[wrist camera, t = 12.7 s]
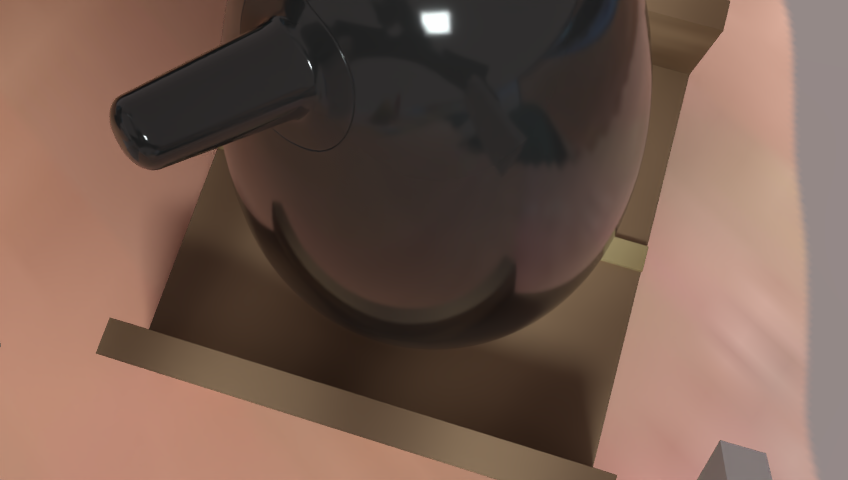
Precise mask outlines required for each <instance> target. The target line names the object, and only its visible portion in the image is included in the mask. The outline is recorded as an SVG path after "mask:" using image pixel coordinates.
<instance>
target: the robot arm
mask: <svg viewBox="0 0 848 480" xmlns="http://www.w3.org/2000/svg"><path fill="white" fill-rule="evenodd" d="M0 346H1V345H0ZM697 480H772V476H771V472H770V468H769V464H768V460H767V456H766V453H763V452H759V451H756V450H752V449H749V448H746V447H742V446H739V445H735V444H732V443H728V442H725V441H721V440H720V441H719V443H718V445H717V446H716V448H715V450H714V452H713V453H712V455H711V457H710V458H709V460H708V462H707V464H706V465H705V467H704V469H703V470H702V472H701V474H700V476H699V477H698V479H697Z"/></svg>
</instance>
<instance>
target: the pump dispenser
mask: <svg viewBox="0 0 848 480" xmlns="http://www.w3.org/2000/svg"><path fill="white" fill-rule="evenodd" d="M652 83H653V62H652V42H651V31H650V22H649V14H648V8H647V2H646V0H227V3H226V9H225V15H224V21H223V29H222V36H221V45H219V46H217V47H215V48H213V49H211V50H209V51H207V52H205V53H203V54H201V55H199V56H197V57H195V58H193V59H191V60H189V61H187V62H185V63H183V64H181V65H179V66H177V67H175V68H173V69H171V70H169V71H167V72H165V73H163V74H162V75H160V76H158V77H156V78H154V79H152V80H150V81H148V82H146V83H144V84H142V85H140V86H138V87H136V88H134V89H132V90H130V91H128V92H126V93H124V94H122V95H120V96H118V97H117V98H116V99H115V100H114V101H113V103H112V105H111V108H110V114H109V117H110V125H111V129H112V131H113V134H114V136H115V138H116V140H117V142H118V144H119V146H120V147H121V149H122V150H123V152H124V153H125V154H126V156H127V157H128V158H129V159H130V160H131V161H132V162H134V163H135V164H136V165H138V166H140V167H142V168H144V169H147V170H159V169H162V168H165V167H167V166H170V165H173V164H175V163H178V162H181V161H183V160H186V159H189V158H191V157H194V156H197V155H199V154H202V153H205V152H207V151H210V150H213V149H215V148H218V147H221V146H223V147H224V152H225V157H226V162H227V166H228V170H229V174H230V177H231V180H232V184H233V187H234V190H235V193H236V196H237V199H238V202H239V204H240V207H241V210H242V212H243V215H244V217H245V219H246V222H247V224H248V226H249V228H250V230H251V233H252V235H253V237H254V239H255V240H256V242H257V244H258V246H259V247H260V249H261V251H262V252H263V254H264V255H265V257H266V258H267V260H268V261H269V263H270V264H271V266H272V267H273V268H274V269H275V271H276V272H277V273H278V275H279V276H280V277H281V278H282V279H283V280H284V282H285V283H286V284H287V285H288V286H289V287H290V288H291V289H292V290H293V291H294V292H295V293H296V294H297V295H298V296H299V297H300V298H301V299H303V300H304V301H305V302H306V303H307V304H308V305H310V306H311V307H312V308H313V309H315V310H316V311H317V312H319V313H320V314H322V315H323V316H325V317H326V318H328V319H329V320H331V321H333V322H334V323H336V324H338V325H340V326H341V327H343V328H345V329H347V330H349V331H351V332H354V333H356V334H358V335H361V336H363V337H366V338H369V339H372V340H375V341H378V342H381V343H385V344H389V345H394V346H399V347H405V348H413V349H425V350H444V349H457V348H464V347H470V346H475V345H479V344H484V343H487V342H491V341H494V340H497V339H500V338H503V337H506V336H508V335H510V334H513V333H515V332H517V331H519V330H522V329H524V328H525V327H527V326H529V325H531V324H533V323H534V322H536V321H538V320H539V319H541V318H542V317H544V316H545V315H547V314H548V313H550V312H551V311H552V310H554V309H555V308H556V307H558V306H559V305H560V304H561V303H562V302H564V301H565V300H566V299H567V298H568V297H569V296H570V295H571V294H572V293H573V292H574V291H575V290H576V289H577V288H578V287H579V286H580V285H581V284H582V283H583V282H584V281H585V280H586V279H587V277H588V276H589V275H590V274H591V272H592V271H593V270H594V269H595V267H596V266H597V264H598V263H599V262H600V260H601V259H602V257H603V256H604V254H605V253H606V251H607V249H608V248H609V246H610V244H611V242H612V241H613V239H614V237H615V235H616V233H617V231H618V229H619V226H620V224H621V222H622V220H623V217H624V215H625V212H626V210H627V207H628V204H629V202H630V199H631V197H632V194H633V191H634V188H635V185H636V182H637V178H638V175H639V171H640V168H641V164H642V160H643V156H644V151H645V147H646V142H647V136H648V129H649V122H650V114H651V103H652Z"/></svg>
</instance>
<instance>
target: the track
mask: <svg viewBox="0 0 848 480" xmlns="http://www.w3.org/2000/svg"><path fill="white" fill-rule="evenodd" d="M646 2H647V8H648V14H649V22H650V31H651V42H652V62H653V83H652V103H651V114H650V122H649V129H648V136H647V142H646V147H645V151H644V156H643V160H642V164H641V168H640V171H639V175H638V178H637V182H636V185H635V188H634V191H633V194H632V197H631V199H630V202H629V204H628V207H627V210H626V212H625V215H624V217H623V220H622V222H621V224H620V226H619V229H618V231H617V233H616V235H615V237H614V239H613V241H612V242H611V244H610V246H609V248H608V249H607V251H606V253H605V254H604V256H603V257H602V259H601V260H600V262H599V263H598V264H597V266H596V267H595V269H594V270H593V271H592V272H591V274H590V275H589V276H588V277H587V279H586V280H585V281H584V282H583V283H582V284H581V285H580V286H579V287H578V288H577V289H576V290H575V291H574V292H573V293H572V294H571V295H570V296H569V297H568V298H567V299H566V300H565V301H564V302H562V303H561V304H560V305H559V306H558V307H556V308H555V309H554V310H552V311H551V312H550V313H548V314H547V315H545V316H544V317H542V318H541V319H539V320H538V321H536V322H534V323H533V324H531V325H529V326H527V327H525V328H524V329H522V330H519V331H517V332H515V333H513V334H510V335H508V336H506V337H503V338H500V339H497V340H494V341H491V342H487V343H484V344H479V345H475V346H470V347H464V348H457V349H444V350H425V349H413V348H405V347H399V346H394V345H389V344H385V343H381V342H378V341H375V340H372V339H369V338H366V337H363V336H361V335H358V334H356V333H354V332H351V331H349V330H347V329H345V328H343V327H341V326H340V325H338V324H336V323H334V322H333V321H331V320H329V319H328V318H326V317H325V316H323V315H322V314H320V313H319V312H317V311H316V310H315V309H313V308H312V307H311V306H310V305H308V304H307V303H306V302H305V301H304V300H303V299H301V298H300V297H299V296H298V295H297V294H296V293H295V292H294V291H293V290H292V289H291V288H290V287H289V286H288V285H287V284H286V283H285V282H284V280H283V279H282V278H281V277H280V276H279V275H278V273H277V272H276V271H275V269H274V268H273V267H272V266H271V264H270V263H269V261H268V260H267V258H266V257H265V255H264V254H263V252H262V251H261V249H260V247H259V246H258V244H257V242H256V240H255V239H254V237H253V235H252V233H251V230H250V228H249V226H248V224H247V222H246V219H245V217H244V215H243V212H242V210H241V207H240V204H239V202H238V199H237V196H236V193H235V190H234V187H233V184H232V180H231V177H230V174H229V170H228V166H227V162H226V157H225V152H224V147H223V146H221V147H218V149H217V152H216V155H215V157H214V160H213V162H212V165H211V168H210V170H209V173H208V176H207V178H206V181H205V183H204V186H203V189H202V191H201V194H200V197H199V199H198V202H197V204H196V207H195V210H194V212H193V215H192V218H191V220H190V223H189V226H188V228H187V231H186V233H185V236H184V239H183V241H182V244H181V247H180V249H179V252H178V254H177V257H176V260H175V262H174V265H173V268H172V270H171V273H170V275H169V278H168V281H167V283H166V286H165V289H164V291H163V294H162V296H161V299H160V302H159V304H158V307H157V310H156V312H155V315H154V318H153V320H152V323H151V325H150V328H149V329H146V328H143V327H139V326H136V325H133V324H130V323H126V322H123V321H120V320H117V319H113V318H109V321H108V324H107V326H106V329H105V331H104V334H103V336H102V339H101V341H100V344H99V346H98V349H97V352H96V354H99V355H103V356H106V357H109V358H112V359H115V360H119V361H122V362H125V363H128V364H131V365H134V366H138V367H141V368H144V369H147V370H150V371H154V372H157V373H160V374H163V375H166V376H169V377H173V378H176V379H179V380H182V381H185V382H188V383H192V384H195V385H198V386H201V387H204V388H208V389H211V390H214V391H217V392H220V393H223V394H227V395H230V396H233V397H236V398H239V399H243V400H246V401H249V402H252V403H255V404H258V405H262V406H265V407H268V408H271V409H274V410H277V411H281V412H284V413H287V414H290V415H293V416H297V417H300V418H303V419H306V420H309V421H312V422H316V423H319V424H322V425H325V426H328V427H332V428H335V429H338V430H341V431H344V432H347V433H351V434H354V435H357V436H360V437H363V438H366V439H370V440H373V441H376V442H379V443H382V444H386V445H389V446H392V447H395V448H398V449H401V450H405V451H408V452H411V453H414V454H417V455H421V456H424V457H427V458H430V459H433V460H436V461H440V462H443V463H446V464H449V465H452V466H455V467H459V468H462V469H465V470H468V471H471V472H475V473H478V474H481V475H484V476H487V477H490V478H494V479H497V480H616V478H617V475H615V474H612V473H609V472H606V471H603V470H599V469H596V468H593V464H594V460H595V456H596V452H597V448H598V444H599V440H600V436H601V432H602V428H603V424H604V420H605V416H606V412H607V407H608V403H609V399H610V395H611V391H612V387H613V383H614V379H615V375H616V371H617V367H618V363H619V359H620V355H621V350H622V346H623V342H624V338H625V334H626V330H627V326H628V322H629V318H630V314H631V310H632V306H633V302H634V298H635V293H636V289H637V285H638V281H639V277H640V273H641V272H642V271H643V267H644V263H645V259H646V255H647V251H648V246H647V245H648V241H649V237H650V232H651V228H652V224H653V220H654V216H655V212H656V208H657V204H658V200H659V196H660V192H661V188H662V184H663V180H664V175H665V171H666V167H667V163H668V159H669V155H670V151H671V147H672V143H673V139H674V135H675V131H676V127H677V123H678V118H679V114H680V110H681V106H682V102H683V98H684V94H685V90H686V86H687V82H688V78H689V74H690V73H691V72H692V70H693V69H694V68H695V67H696V65H697V64H698V63H699V61H700V60H701V59H702V57H703V56H704V55H705V54H706V52H707V51H708V50H709V48H710V47H711V46H712V45H713V43H714V42H715V41H716V39H717V38H718V37H719V35H720V34H721V33H722V32H723V29H724V25H725V21H726V17H727V13H728V8H729V4H730V1H729V0H646Z"/></svg>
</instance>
